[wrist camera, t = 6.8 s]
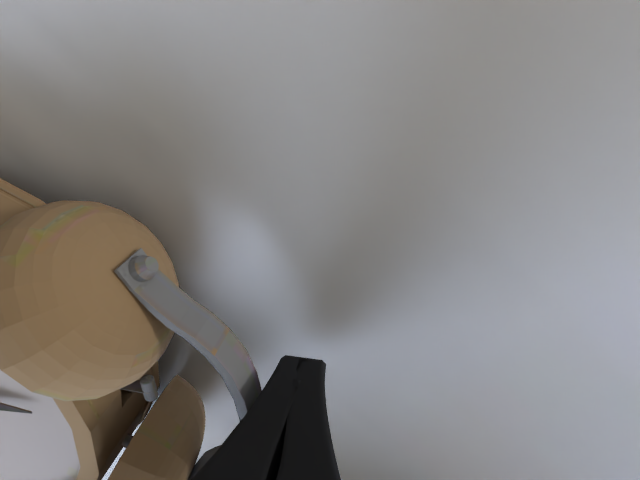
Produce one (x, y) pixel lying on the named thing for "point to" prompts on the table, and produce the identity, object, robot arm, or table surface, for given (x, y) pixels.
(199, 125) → the table surface
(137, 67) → the table surface
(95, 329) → the alarm clock
